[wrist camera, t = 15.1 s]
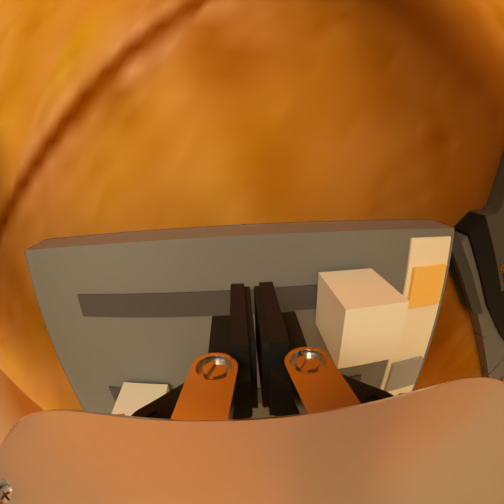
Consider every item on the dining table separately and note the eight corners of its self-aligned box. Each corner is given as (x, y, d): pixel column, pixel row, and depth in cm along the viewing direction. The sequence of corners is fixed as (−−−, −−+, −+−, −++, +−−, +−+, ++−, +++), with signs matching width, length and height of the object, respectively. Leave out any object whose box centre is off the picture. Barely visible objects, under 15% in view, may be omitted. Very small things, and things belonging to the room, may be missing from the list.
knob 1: (123, 382, 16) (106, 426, 12) (167, 384, 16) (156, 432, 12) (136, 412, 17) (123, 455, 13) (176, 414, 17) (169, 460, 13)
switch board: (45, 239, 16) (20, 252, 13) (432, 219, 17) (459, 229, 14) (122, 444, 22) (115, 466, 19) (380, 427, 23) (390, 448, 21)
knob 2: (318, 272, 15) (345, 309, 11) (371, 268, 15) (409, 301, 11) (315, 323, 15) (337, 368, 12) (364, 317, 16) (395, 357, 12)
